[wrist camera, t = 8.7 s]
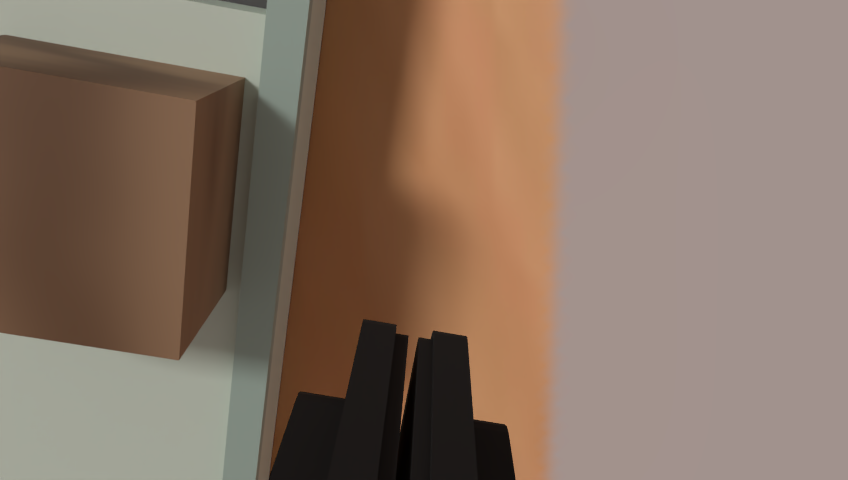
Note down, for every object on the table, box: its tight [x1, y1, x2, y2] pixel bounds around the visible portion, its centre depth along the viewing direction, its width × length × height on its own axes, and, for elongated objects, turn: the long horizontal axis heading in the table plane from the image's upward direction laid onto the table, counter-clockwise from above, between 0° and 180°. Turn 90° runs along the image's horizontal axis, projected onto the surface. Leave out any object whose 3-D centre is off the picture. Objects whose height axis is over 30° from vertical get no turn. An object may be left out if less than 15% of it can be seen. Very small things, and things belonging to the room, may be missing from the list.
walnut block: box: [0, 35, 245, 360], centre depth 17 cm, size 6×6×4 cm
